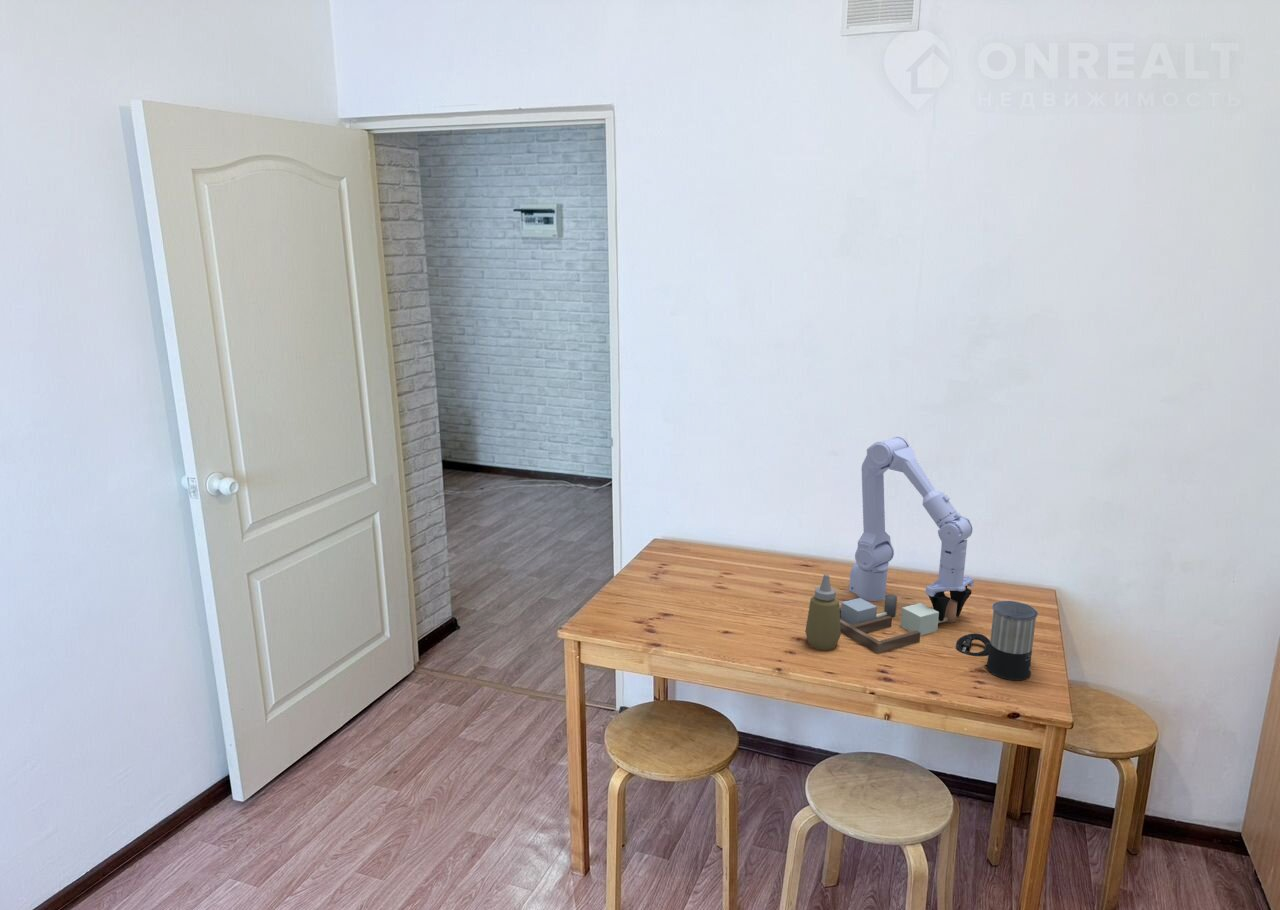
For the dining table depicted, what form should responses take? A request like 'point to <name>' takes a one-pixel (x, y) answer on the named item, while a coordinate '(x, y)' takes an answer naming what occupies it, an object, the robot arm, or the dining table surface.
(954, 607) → the sage cube mallet
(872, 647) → the shelf
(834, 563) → the dining table surface
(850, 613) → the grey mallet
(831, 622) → the squeeze bottle
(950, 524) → the robot arm
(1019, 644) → the milk frother
